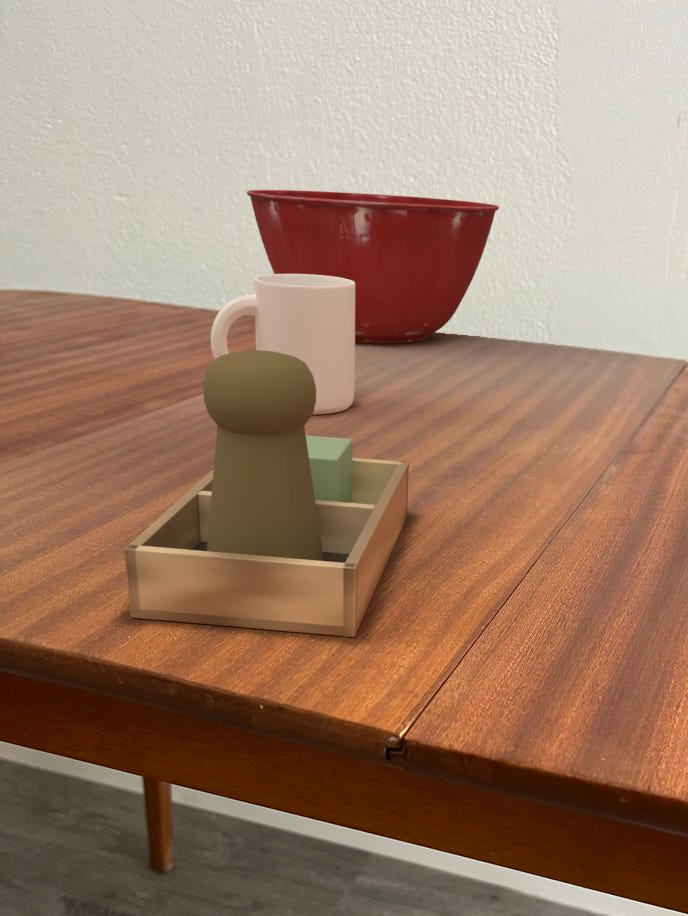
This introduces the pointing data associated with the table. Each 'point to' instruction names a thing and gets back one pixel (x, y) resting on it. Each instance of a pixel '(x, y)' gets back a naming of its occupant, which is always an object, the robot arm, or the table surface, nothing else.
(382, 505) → the tray
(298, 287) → the mug
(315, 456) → the green block
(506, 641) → the table surface
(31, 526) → the table surface
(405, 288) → the mixing bowl
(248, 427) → the olive pawn
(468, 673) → the table surface
